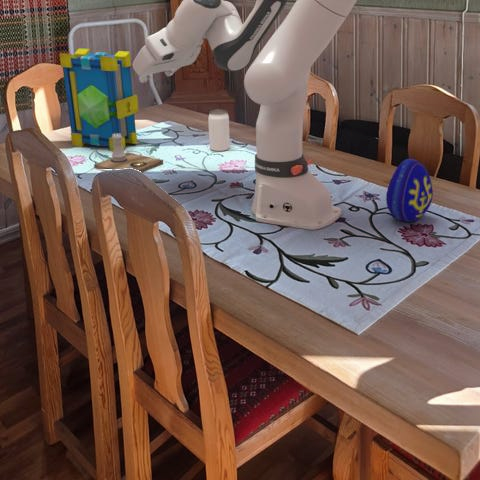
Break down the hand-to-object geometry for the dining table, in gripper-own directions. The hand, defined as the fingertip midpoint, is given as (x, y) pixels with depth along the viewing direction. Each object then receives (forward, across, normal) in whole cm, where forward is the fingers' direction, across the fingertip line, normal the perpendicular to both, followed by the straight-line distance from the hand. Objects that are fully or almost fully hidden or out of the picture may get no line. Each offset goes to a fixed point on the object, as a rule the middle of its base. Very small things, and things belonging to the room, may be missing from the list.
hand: (155, 77), depth 183 cm
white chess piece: (+34, -1, +4) cm, 34 cm away
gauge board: (+32, -2, +8) cm, 33 cm away
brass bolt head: (+28, -2, +10) cm, 30 cm away
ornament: (-27, -14, +70) cm, 76 cm away
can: (+25, -30, +16) cm, 42 cm away
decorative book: (+49, -12, -9) cm, 51 cm away
